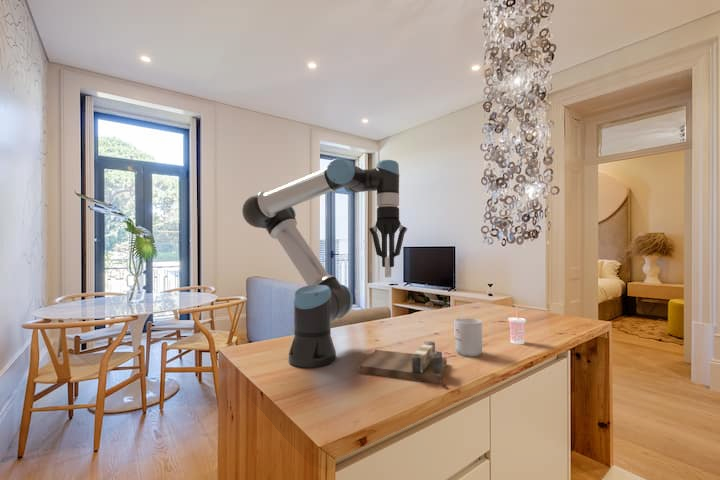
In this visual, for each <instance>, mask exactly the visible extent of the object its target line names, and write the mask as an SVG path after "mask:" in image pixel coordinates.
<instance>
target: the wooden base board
mask: <svg viewBox="0 0 720 480" xmlns="http://www.w3.org/2000/svg"><path fill="white" fill-rule="evenodd" d="M413 354H414V353H409V352H401V351H391V350H381V349H375V350H374V351H373V352H372V353H370V354H369V356H368V357H367V358H365V359H364V361H362V362H360V364H359V366H358V369H359V371H358V372H359V373H360V374H361V373H362V374H367V375H373V376H375V375H376V376H383V377H387V378H388V377H389V378H390V377H391V378H394V379H395V378H398V379H404V380H410V381H418V382H425V383H430V384H431V383H432V384H433V383H434V384H441V383H442V380H443V376H444V374H445V371H446V367H447V365H448V364H447V357H444V356H443V353H442V351H436V350H435V356H434V358H433V359H432V361H431V362H430V363H429V365H428V366H427V367H426V368H425V370H424V371H423V372H422V373H416V372H413V371H411V356H412V355H413Z"/></svg>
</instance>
